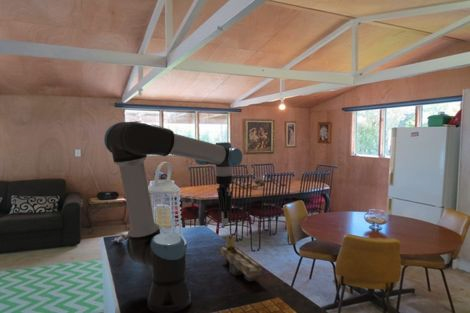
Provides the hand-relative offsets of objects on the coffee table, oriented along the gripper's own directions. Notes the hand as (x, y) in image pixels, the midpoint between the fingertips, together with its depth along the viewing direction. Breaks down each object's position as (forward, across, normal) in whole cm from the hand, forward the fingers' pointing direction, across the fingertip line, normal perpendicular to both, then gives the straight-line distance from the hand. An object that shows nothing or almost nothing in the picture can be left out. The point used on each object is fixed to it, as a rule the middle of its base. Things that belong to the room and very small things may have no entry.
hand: (224, 224), depth 154 cm
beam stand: (+17, -16, 0) cm, 23 cm away
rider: (+11, -7, 0) cm, 13 cm away
